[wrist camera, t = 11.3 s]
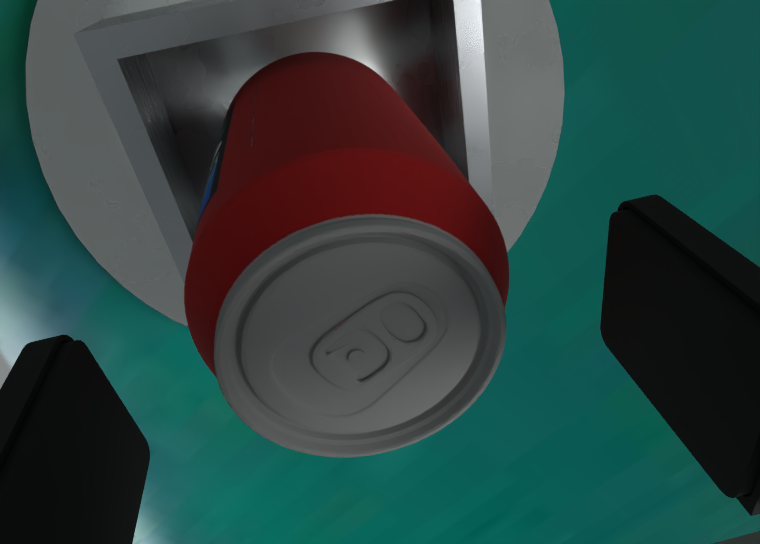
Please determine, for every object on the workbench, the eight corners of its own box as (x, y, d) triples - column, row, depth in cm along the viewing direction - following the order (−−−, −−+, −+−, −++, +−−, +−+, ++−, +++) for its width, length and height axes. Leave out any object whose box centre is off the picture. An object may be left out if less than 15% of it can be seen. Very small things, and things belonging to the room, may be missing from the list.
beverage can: (179, 133, 19) (78, 359, 9) (329, 0, 18) (409, 87, 8) (308, 258, 22) (340, 522, 12) (441, 154, 21) (600, 356, 11)
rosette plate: (-92, -109, 15) (-198, -122, 12) (550, -233, 16) (628, -278, 13) (164, 376, 26) (148, 446, 22) (550, 281, 27) (593, 333, 23)
